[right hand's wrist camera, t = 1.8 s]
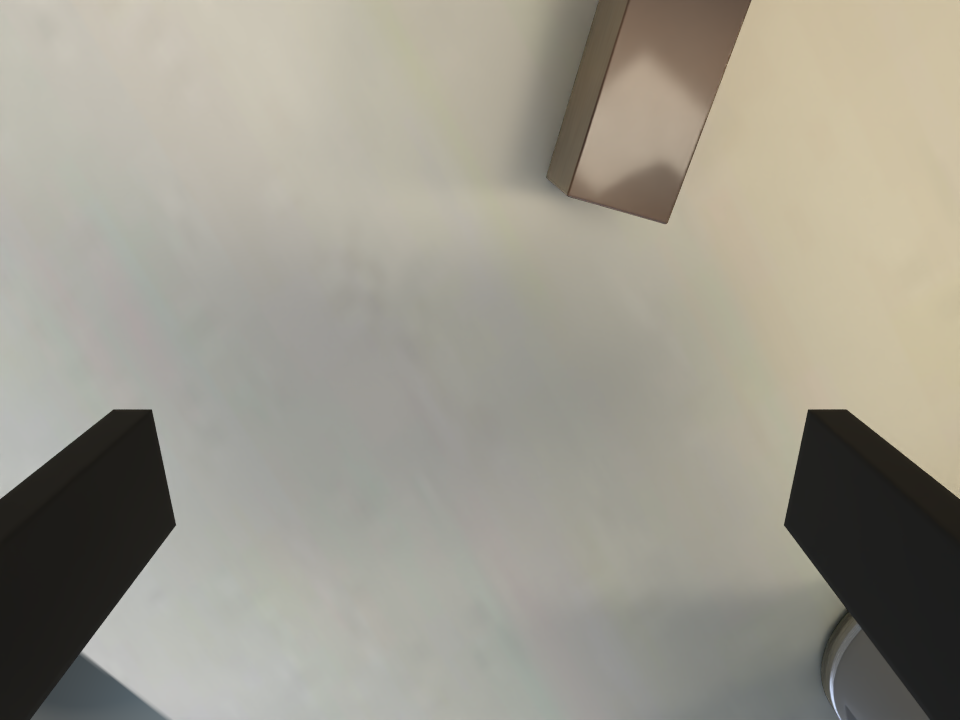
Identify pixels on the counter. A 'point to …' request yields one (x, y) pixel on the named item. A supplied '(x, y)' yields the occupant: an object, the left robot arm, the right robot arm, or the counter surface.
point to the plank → (643, 101)
